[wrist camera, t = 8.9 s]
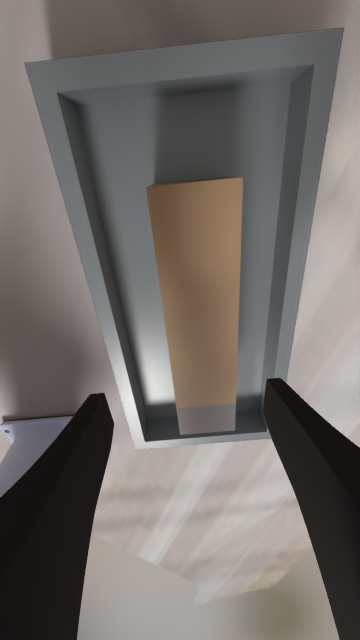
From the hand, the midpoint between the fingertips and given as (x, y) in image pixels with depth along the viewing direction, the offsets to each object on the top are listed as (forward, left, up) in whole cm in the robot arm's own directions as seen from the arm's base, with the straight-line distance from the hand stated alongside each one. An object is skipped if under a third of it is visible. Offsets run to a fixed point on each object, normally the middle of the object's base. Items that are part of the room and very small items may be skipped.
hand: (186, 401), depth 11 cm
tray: (0, -1, -9) cm, 9 cm away
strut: (+1, -1, -9) cm, 9 cm away
